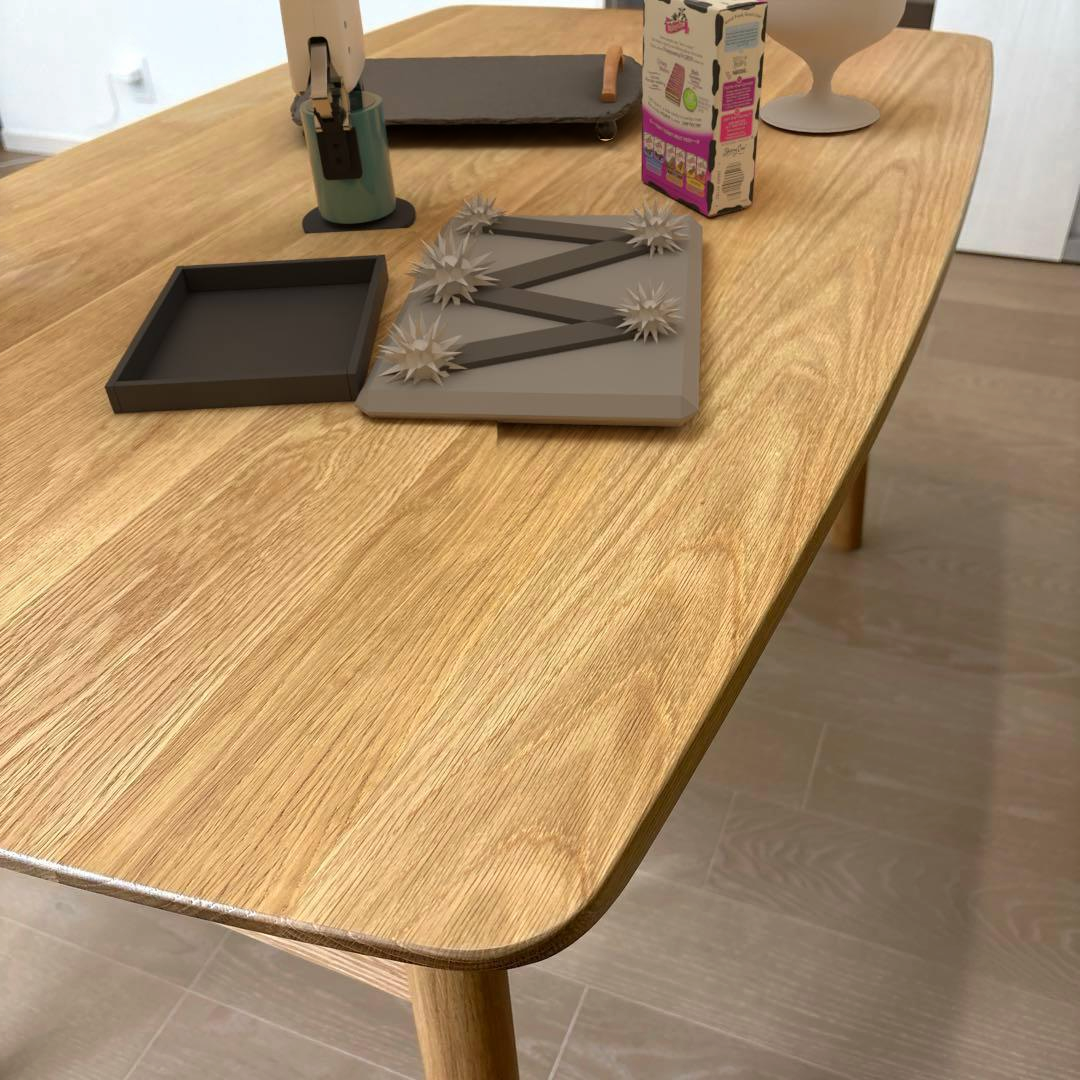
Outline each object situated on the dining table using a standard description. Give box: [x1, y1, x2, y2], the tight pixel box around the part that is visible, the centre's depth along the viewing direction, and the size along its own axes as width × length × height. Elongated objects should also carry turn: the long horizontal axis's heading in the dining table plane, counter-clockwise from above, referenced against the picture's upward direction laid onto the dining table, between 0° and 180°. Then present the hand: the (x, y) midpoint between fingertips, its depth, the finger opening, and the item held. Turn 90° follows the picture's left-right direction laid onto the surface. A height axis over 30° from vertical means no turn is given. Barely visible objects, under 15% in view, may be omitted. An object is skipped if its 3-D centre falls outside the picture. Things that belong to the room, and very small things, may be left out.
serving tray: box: [290, 44, 643, 142], centre depth 115 cm, size 39×23×6 cm, turn 82°
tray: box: [104, 254, 389, 415], centre depth 76 cm, size 16×18×3 cm
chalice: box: [759, 0, 907, 133], centre depth 105 cm, size 14×14×15 cm
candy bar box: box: [640, 0, 768, 218], centre depth 90 cm, size 11×5×16 cm, turn 28°
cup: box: [300, 91, 397, 224], centre depth 91 cm, size 7×7×9 cm
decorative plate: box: [354, 189, 704, 428], centre depth 75 cm, size 30×22×7 cm
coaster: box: [301, 196, 417, 235], centre depth 95 cm, size 10×10×1 cm
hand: (349, 160), depth 91 cm, fingers closed on cup, 6 cm apart
